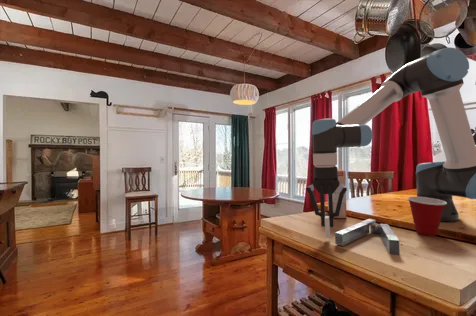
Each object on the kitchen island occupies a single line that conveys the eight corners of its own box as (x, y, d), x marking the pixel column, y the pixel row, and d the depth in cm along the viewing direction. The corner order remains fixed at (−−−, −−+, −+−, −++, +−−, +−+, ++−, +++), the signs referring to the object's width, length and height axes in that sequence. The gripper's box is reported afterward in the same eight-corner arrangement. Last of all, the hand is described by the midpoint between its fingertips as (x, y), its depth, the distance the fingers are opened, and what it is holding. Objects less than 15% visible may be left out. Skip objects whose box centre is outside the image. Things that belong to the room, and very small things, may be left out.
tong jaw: (376, 230, 89) (375, 219, 89) (342, 246, 76) (342, 234, 76) (369, 228, 91) (368, 218, 91) (335, 243, 78) (335, 232, 78)
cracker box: (347, 218, 105) (346, 170, 105) (332, 218, 107) (331, 171, 106) (340, 210, 119) (339, 168, 119) (327, 210, 120) (326, 168, 120)
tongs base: (385, 231, 88) (385, 220, 88) (399, 254, 69) (399, 240, 69) (370, 230, 90) (369, 219, 89) (379, 252, 71) (378, 238, 71)
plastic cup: (451, 240, 77) (450, 203, 77) (409, 235, 83) (408, 200, 82) (444, 230, 86) (443, 196, 86) (407, 226, 92) (406, 195, 92)
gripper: (346, 164, 82) (348, 234, 83) (306, 165, 87) (308, 231, 88) (347, 166, 75) (349, 242, 76) (303, 167, 80) (306, 238, 81)
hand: (327, 236), depth 82 cm, fingers closed
